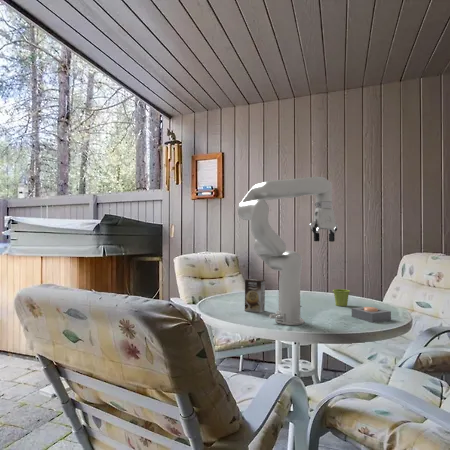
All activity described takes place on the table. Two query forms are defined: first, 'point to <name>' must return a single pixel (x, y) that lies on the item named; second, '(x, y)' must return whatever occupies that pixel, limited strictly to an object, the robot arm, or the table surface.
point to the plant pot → (341, 297)
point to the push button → (371, 309)
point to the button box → (371, 315)
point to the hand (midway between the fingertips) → (324, 241)
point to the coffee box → (255, 295)
